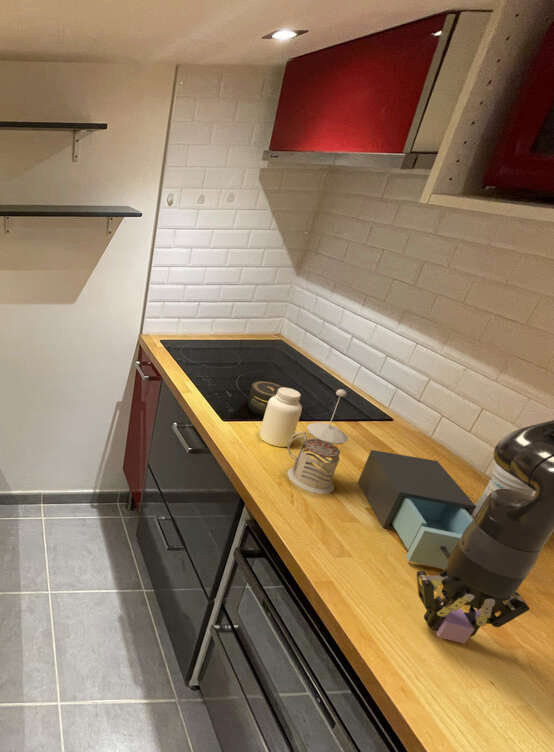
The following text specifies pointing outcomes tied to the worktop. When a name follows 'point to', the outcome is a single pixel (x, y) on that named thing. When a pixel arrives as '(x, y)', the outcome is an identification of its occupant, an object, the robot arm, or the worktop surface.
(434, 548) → the light blue drawer
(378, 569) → the worktop surface
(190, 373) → the worktop surface
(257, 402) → the jar
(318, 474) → the french press
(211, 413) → the worktop surface
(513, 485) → the bottle
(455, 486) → the drawer cabinet casing
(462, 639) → the block
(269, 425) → the pill bottle
